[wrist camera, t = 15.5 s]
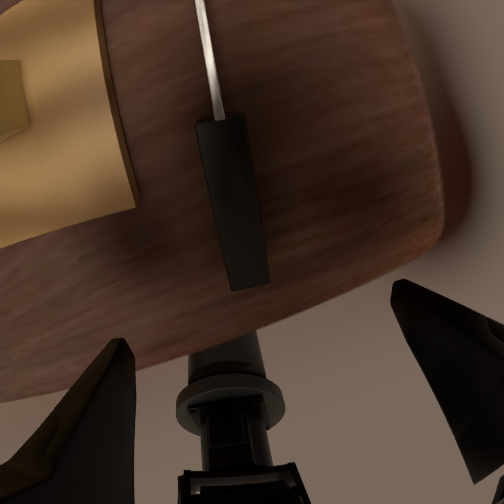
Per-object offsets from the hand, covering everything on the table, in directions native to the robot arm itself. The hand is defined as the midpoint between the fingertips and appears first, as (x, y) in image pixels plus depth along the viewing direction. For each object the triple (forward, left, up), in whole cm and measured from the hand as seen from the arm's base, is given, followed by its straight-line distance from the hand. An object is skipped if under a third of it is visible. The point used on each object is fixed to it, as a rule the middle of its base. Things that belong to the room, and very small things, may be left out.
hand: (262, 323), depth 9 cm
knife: (+6, 0, -9) cm, 11 cm away
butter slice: (+10, +11, -8) cm, 17 cm away
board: (+9, +16, -9) cm, 20 cm away
